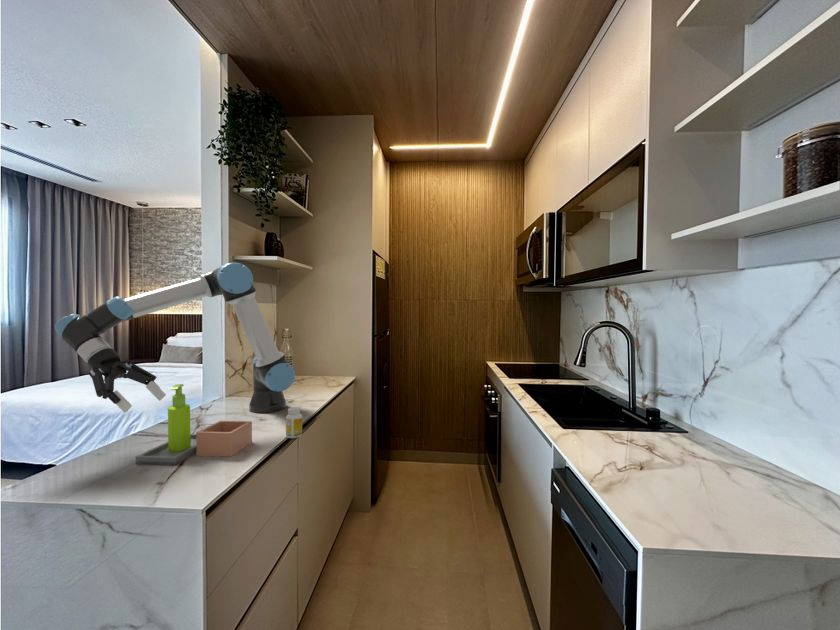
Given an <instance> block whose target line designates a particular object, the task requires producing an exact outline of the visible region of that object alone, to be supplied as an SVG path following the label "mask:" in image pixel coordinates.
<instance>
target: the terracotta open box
mask: <svg viewBox="0 0 840 630" xmlns="http://www.w3.org/2000/svg"><path fill="white" fill-rule="evenodd" d="M195 434H196V446H197V453H196V456H200V457H201V456H202V457H203V456H204V457H205V456H206V457H211V456H212V457H234V455H236V454H238V453H239V452H240V451H242V450H243V449H244V448H246V447H247V446H249V445H250V444H251V442H252V443H253V436H252V435H253V422H252V421H251V420H218V421H217V422H214V423H213V424H211V425H208V426H207V427H204V428H202V429H200V430H199V431H197V432H196V433H195ZM241 449H242V450H241Z"/></svg>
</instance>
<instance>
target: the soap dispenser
mask: <svg viewBox="0 0 840 630" xmlns="http://www.w3.org/2000/svg"><path fill="white" fill-rule="evenodd" d="M183 387H184V383H181V384H179V383H178V384H175V385H173V386H172V387H171V388H170V390H171V391H175V394H173V395H172V402H171V403H172V405H171V406H168V407H167V438H168V440H167V441H168V450H169V451H171V452H178V451H183V450H186V449H189V448H190V447H191V435H190V434H191V405H190V404H187V403H186V394H184V393H183Z"/></svg>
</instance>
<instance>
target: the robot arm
mask: <svg viewBox="0 0 840 630" xmlns="http://www.w3.org/2000/svg"><path fill="white" fill-rule="evenodd" d="M253 276H254V275H253V273H252V271H251V269H250V268H249V267H248V266H247V265H245V264H243V263H240V262H228V263H227V262H226V263H225V264H222V265H221V266H219V267H217V268H216V269H214V270H212V271H209V272H207V273H203V274H202V273H201V274H200V275H199V277H198V278H195V279H191V280H187V281H184V282H183V281H182V282H180V283H176V284H173V285H170V286H166V287H163V288H158V289H155V290H152V291H148V292H144V293H141V294H136V295H134V296H129V297H127V298H126V297H125V298H122V297H121V296H120V295H119V296H114V297H113V298H111V299H108V300H107V301H105V302H104V303H102V304H100V305H99V306H98V307H96V308H94V309H93V310H91V311H90V312H88V313H86V314H84V315H82V316H81V315H80V314H77V313H71V314H69V315H66V316H63V317H61V318H60V319H59V320H57V322H56V323H55V325H54V330H55V332H56V333H57V334H58V335H59V336H60V338H61V339H62V340H63V341H64V342H65V343H66V344H67V345H68V346H69V347H70V348H71V349H72V350H74V352H75V353H76V354H78V355H79V356H80V358H81V359H82V360H83V361H84V362H85V363H87V365H88V366H89V367H90V368H91V370H90V371H89V372H88V376H90V378H91V379H92V382H93V386H94V391H95V394H96V396H97V397H98V398H102V399H104V400H107V399H109V400H110V401H111V402H112V403H113V404H115V406H117V407H118V408H119V409H120V410H121V411H122V412H123V413H127V412H128V411H129V410H130V409H131V408H132V407H133V405H132V404H131V403H130V402H129V401H128V400H127V399H126V398H125V396H123V395H122V393H120V392H119V391H118V389H117V390H116V389H115V388H114V387H115V380H117V379H122V378H123V379H129V380H131V381H134V382H136V383H137V382H138V383H140V384H143V385H145V388H146V389H147V390H148V391H149V392H150V393H151V394H152V395H153V396H154V397H155V398H156V399H157V400H158V401H160V402H161V401H162V399H164V398H165V396H166V395H167V394H166V393H165V392H164V391H163V390H162V389H161V388H160V386H159V384H157V383H156V382H155V381H156V380H157V378H158V377H157V376H156V375H155V374H153V373H151V372H149V371H147V370H145V369H144V368H142V367H141V366H139V365H137V364H135V363H134V362H133V361H132V360H128V361H127V362H126V363H124V362H122V361H121V356H120V354H119V353H118V352H117V351H116V350H115V349H113V347H112V346H111V345H110V344H109V343H108V342H107V341H106V339H104V338H103V337H102V336H101V335H103V334H105V333H106V332H107V331H109V330H110V329H111V330H112V329H113V328H114V327H116V326H117V325H119V324H120V323H122V322H123V323H124V322H127V321H130V320H133V319H136V318H139V317H142V316H146V315H149V314H152V313H155V312H159V311H162V310H166V309H169V308H172V307H175V306H179V305H182V304H185V303H189V302H191V301H195V300H199V299H201V298H205V297H209V298H214V297H216V296H222V297H223V299H224V300H225V303H226V304H228V305H231V306H232V308H233V310H234V312H235V315H236V317H237V318H238V321H239V323H240V325H241V328H242V329H243V332H244V333H245V336H246V338H247V340H248V342H249V345H250V347H251V349H252V351H253V353H254V356H255V357H254V358H253V359H252V361H253V362H252V376H253V377H252V379H253V380H252V381H253V382H252V383H253V392H252V396H251V399H250V401H249V405H248V407H249V412H252V413H259V414H261V413H265V414H266V413H272V412H273V411H274V412H277V411H281V410H284V409H285V408H286V407H287V401H286V397H285V394H284V391H286V390H288V389H289V388H291V386H292V385H293V384H294V381H295V379H296V372H295V369H294V367H293V366H292V365H291V364H290V363H289V362H288V360H287V358H286V356H285V353H284V352H282V351H279V349H278V346H277V345H276V342H275V340H274V338H273V336H272V333H271V331H270V330H269V327H268V324H267V323H266V320H265V318H264V315H263V313H262V311H261V308H260V306H259V304H258V302H257V300H256V298H255V296H256V294H257V289H256V287H255V285H254V277H253ZM103 376H104V377H103ZM274 412H273V413H274Z"/></svg>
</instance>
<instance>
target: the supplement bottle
mask: <svg viewBox="0 0 840 630" xmlns="http://www.w3.org/2000/svg"><path fill="white" fill-rule="evenodd" d="M287 413H288V414H287V415H286V416H285V436H286V438H287V439H296V438H300V437H302V435H303V414H302V413H301V407H299V406H293V407H292V406H291V407H288V409H287Z"/></svg>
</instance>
